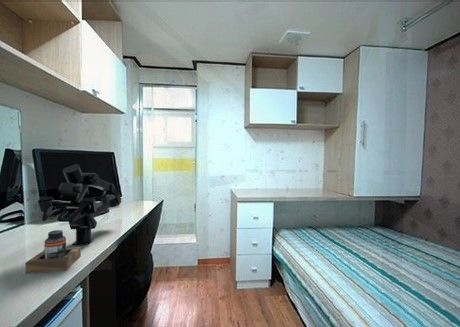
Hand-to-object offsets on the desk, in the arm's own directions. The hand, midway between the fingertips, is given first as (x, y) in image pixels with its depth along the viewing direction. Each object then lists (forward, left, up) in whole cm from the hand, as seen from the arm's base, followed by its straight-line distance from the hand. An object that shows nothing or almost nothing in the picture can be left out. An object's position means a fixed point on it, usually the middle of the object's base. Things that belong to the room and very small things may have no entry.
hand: (57, 220), depth 82 cm
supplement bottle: (+3, +1, -14) cm, 15 cm away
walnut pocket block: (+3, +1, -14) cm, 15 cm away
